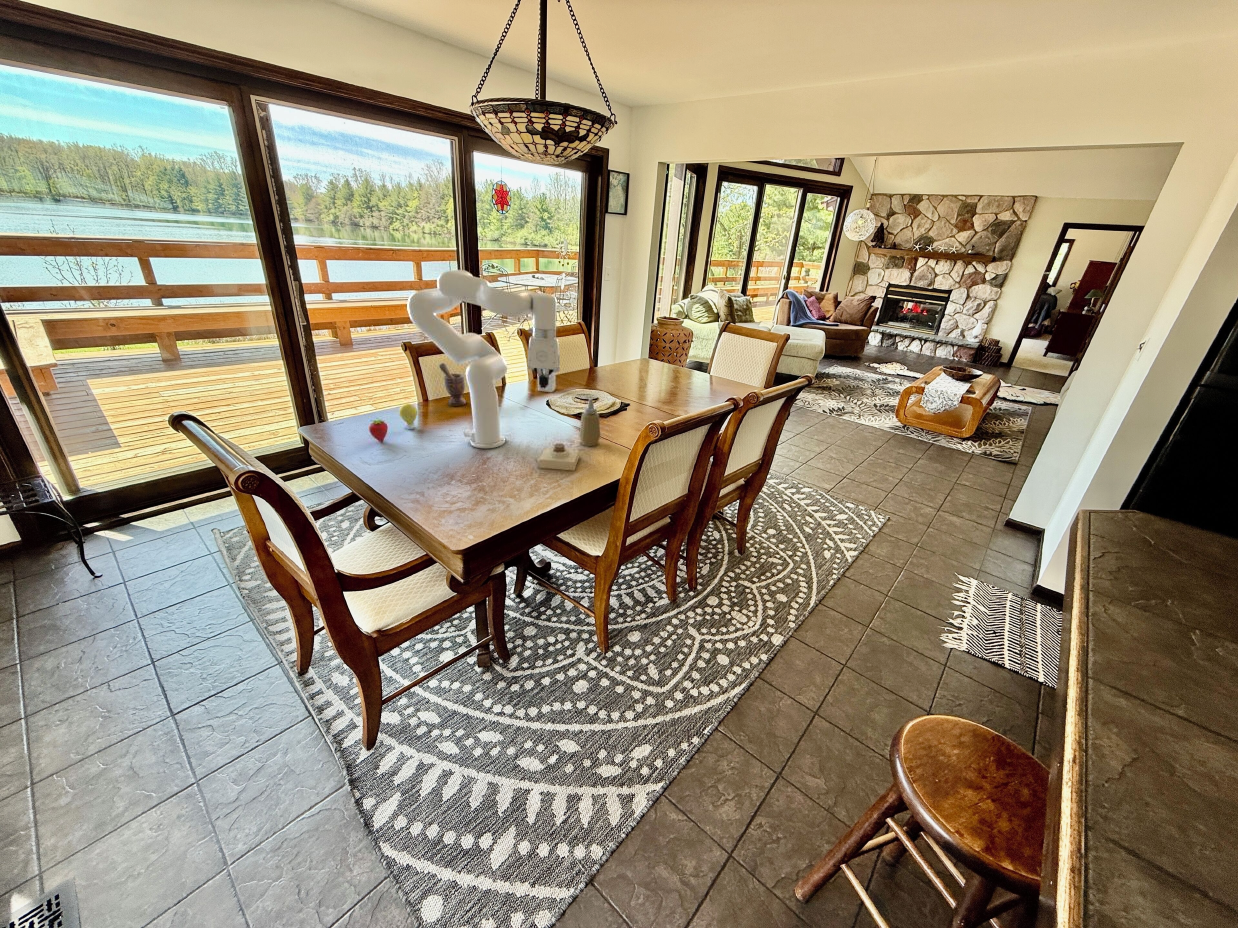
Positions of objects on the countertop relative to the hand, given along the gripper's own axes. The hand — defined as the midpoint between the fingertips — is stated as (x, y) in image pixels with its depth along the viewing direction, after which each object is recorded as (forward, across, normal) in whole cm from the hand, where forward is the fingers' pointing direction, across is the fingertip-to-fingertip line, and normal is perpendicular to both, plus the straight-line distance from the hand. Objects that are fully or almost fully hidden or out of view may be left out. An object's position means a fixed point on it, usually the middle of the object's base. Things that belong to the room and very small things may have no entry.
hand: (543, 387), depth 166 cm
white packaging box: (+25, -17, +74) cm, 80 cm away
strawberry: (+26, -60, -4) cm, 66 cm away
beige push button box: (+24, +8, -9) cm, 27 cm away
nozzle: (+19, +8, -9) cm, 23 cm away
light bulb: (+26, -56, +11) cm, 63 cm away
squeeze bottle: (+24, +16, +10) cm, 31 cm away
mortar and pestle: (+26, -51, +42) cm, 71 cm away
